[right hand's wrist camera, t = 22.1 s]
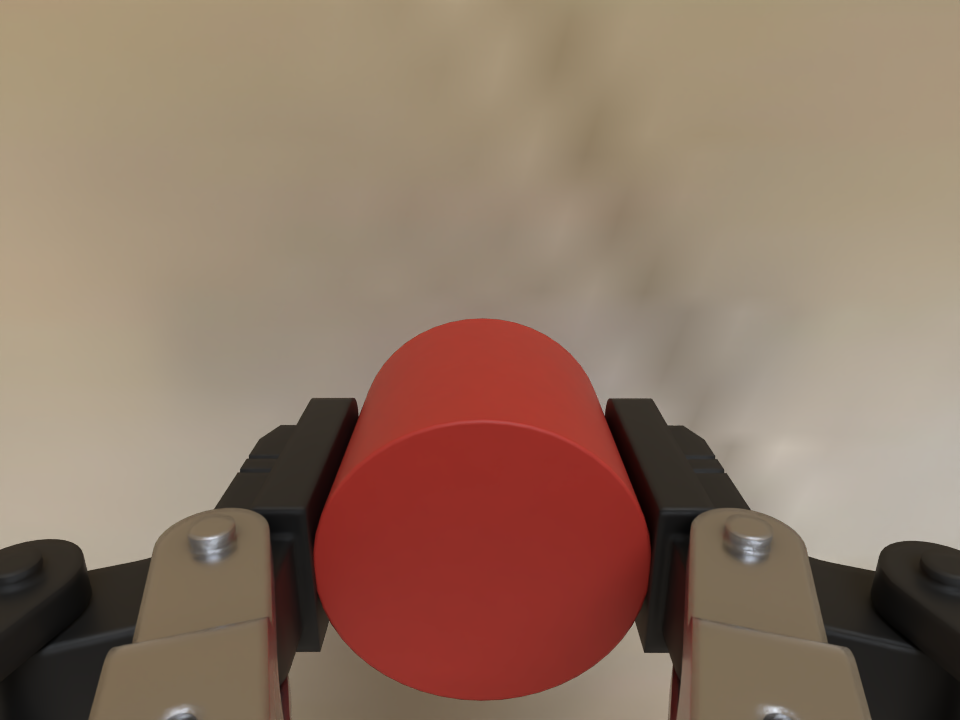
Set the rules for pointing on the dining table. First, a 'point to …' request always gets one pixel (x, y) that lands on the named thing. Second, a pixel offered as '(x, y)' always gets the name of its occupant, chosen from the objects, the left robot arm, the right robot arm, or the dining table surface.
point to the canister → (482, 519)
